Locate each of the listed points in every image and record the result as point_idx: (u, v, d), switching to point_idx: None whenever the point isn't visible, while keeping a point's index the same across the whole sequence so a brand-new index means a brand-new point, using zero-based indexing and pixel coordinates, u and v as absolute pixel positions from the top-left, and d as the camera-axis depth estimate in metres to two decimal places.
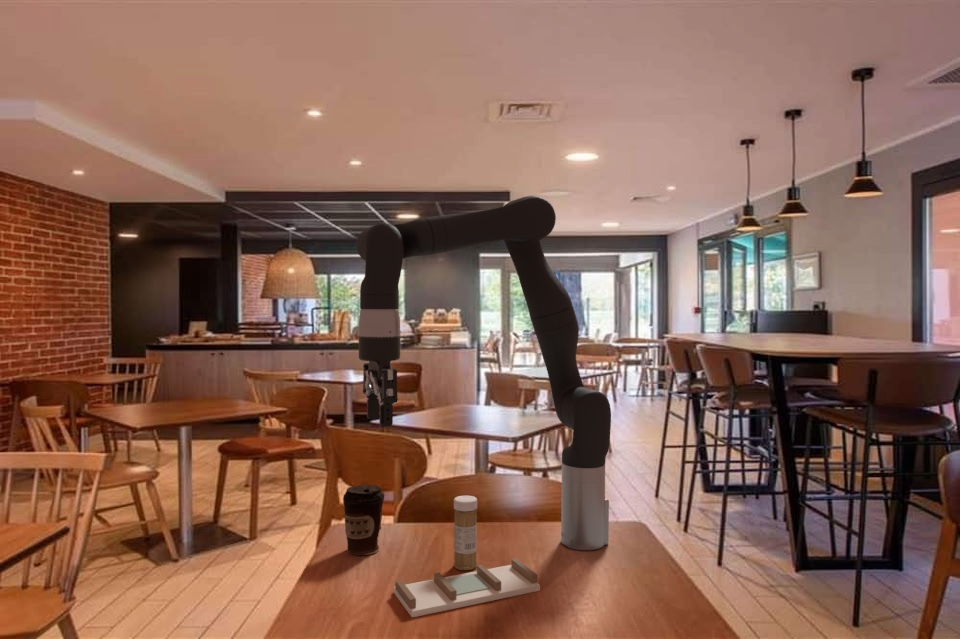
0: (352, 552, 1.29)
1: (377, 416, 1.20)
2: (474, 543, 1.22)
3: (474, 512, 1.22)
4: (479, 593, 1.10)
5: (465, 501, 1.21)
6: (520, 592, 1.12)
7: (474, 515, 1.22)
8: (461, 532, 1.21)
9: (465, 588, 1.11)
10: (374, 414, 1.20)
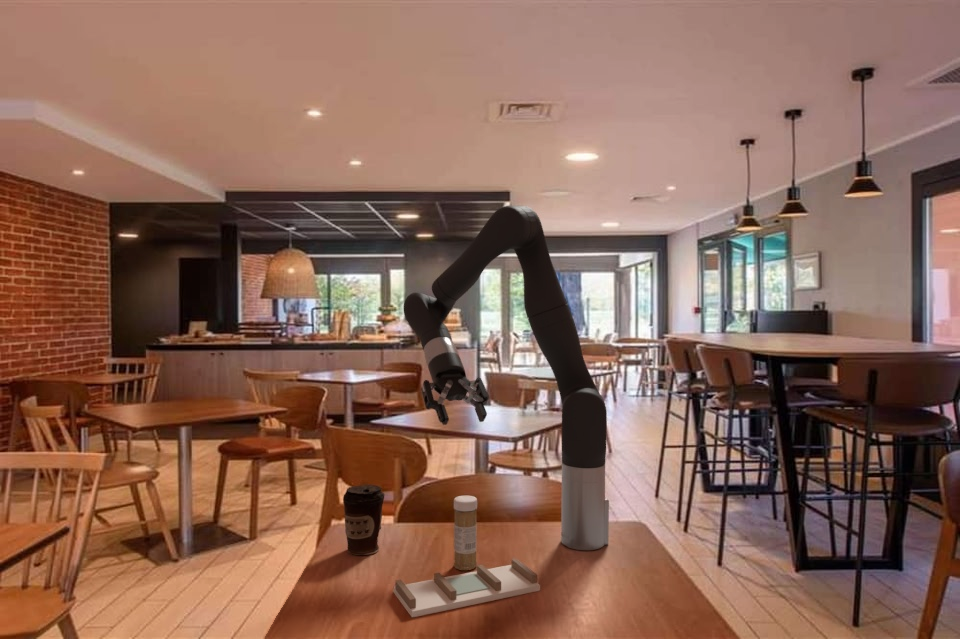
0: (352, 552, 1.29)
1: (482, 416, 1.35)
2: (474, 543, 1.22)
3: (474, 512, 1.22)
4: (479, 593, 1.10)
5: (465, 501, 1.21)
6: (520, 592, 1.12)
7: (474, 515, 1.22)
8: (461, 532, 1.21)
9: (465, 588, 1.11)
10: (480, 416, 1.35)
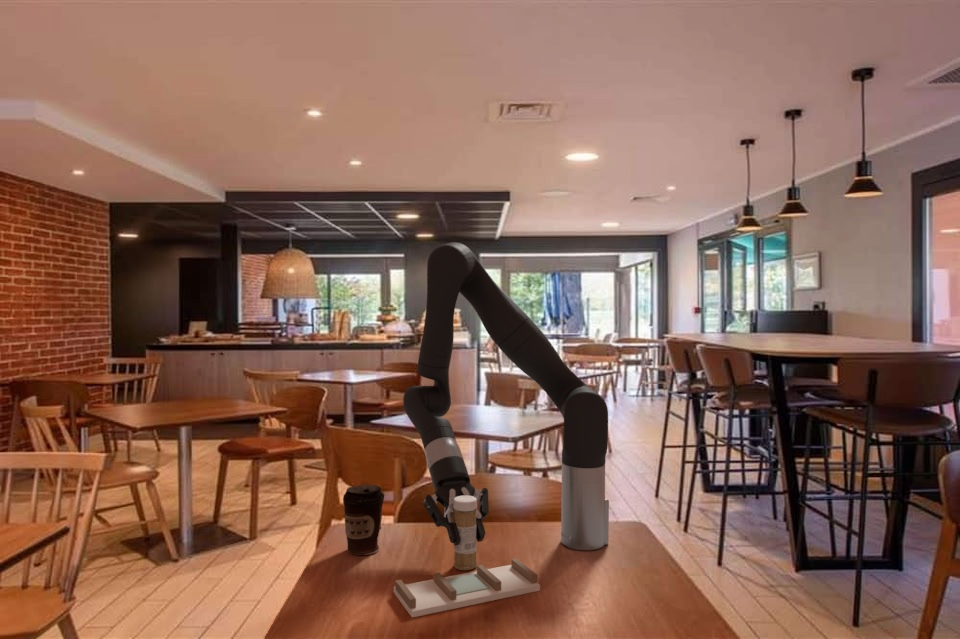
0: (352, 552, 1.29)
1: (480, 536, 1.22)
2: (474, 543, 1.22)
3: (474, 512, 1.22)
4: (479, 593, 1.10)
5: (465, 501, 1.21)
6: (520, 592, 1.12)
7: (474, 515, 1.22)
8: (461, 532, 1.21)
9: (465, 588, 1.11)
10: (478, 535, 1.23)
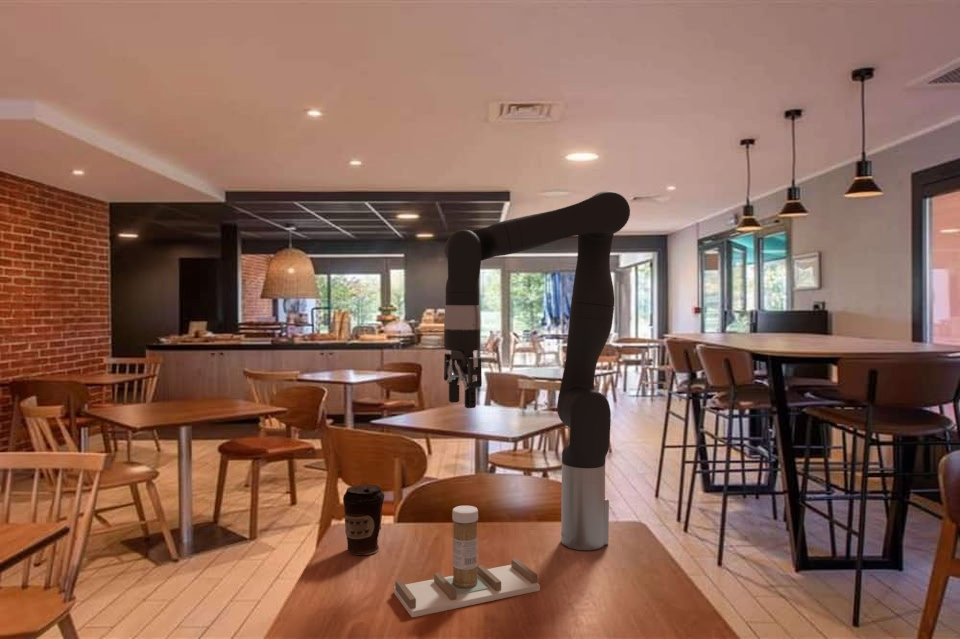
0: (352, 552, 1.29)
1: (457, 400, 1.36)
2: (475, 558, 1.12)
3: (475, 524, 1.12)
4: (479, 593, 1.10)
5: (465, 512, 1.11)
6: (520, 592, 1.12)
7: (475, 527, 1.12)
8: (461, 546, 1.11)
9: (465, 588, 1.11)
10: (455, 398, 1.36)
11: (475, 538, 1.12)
